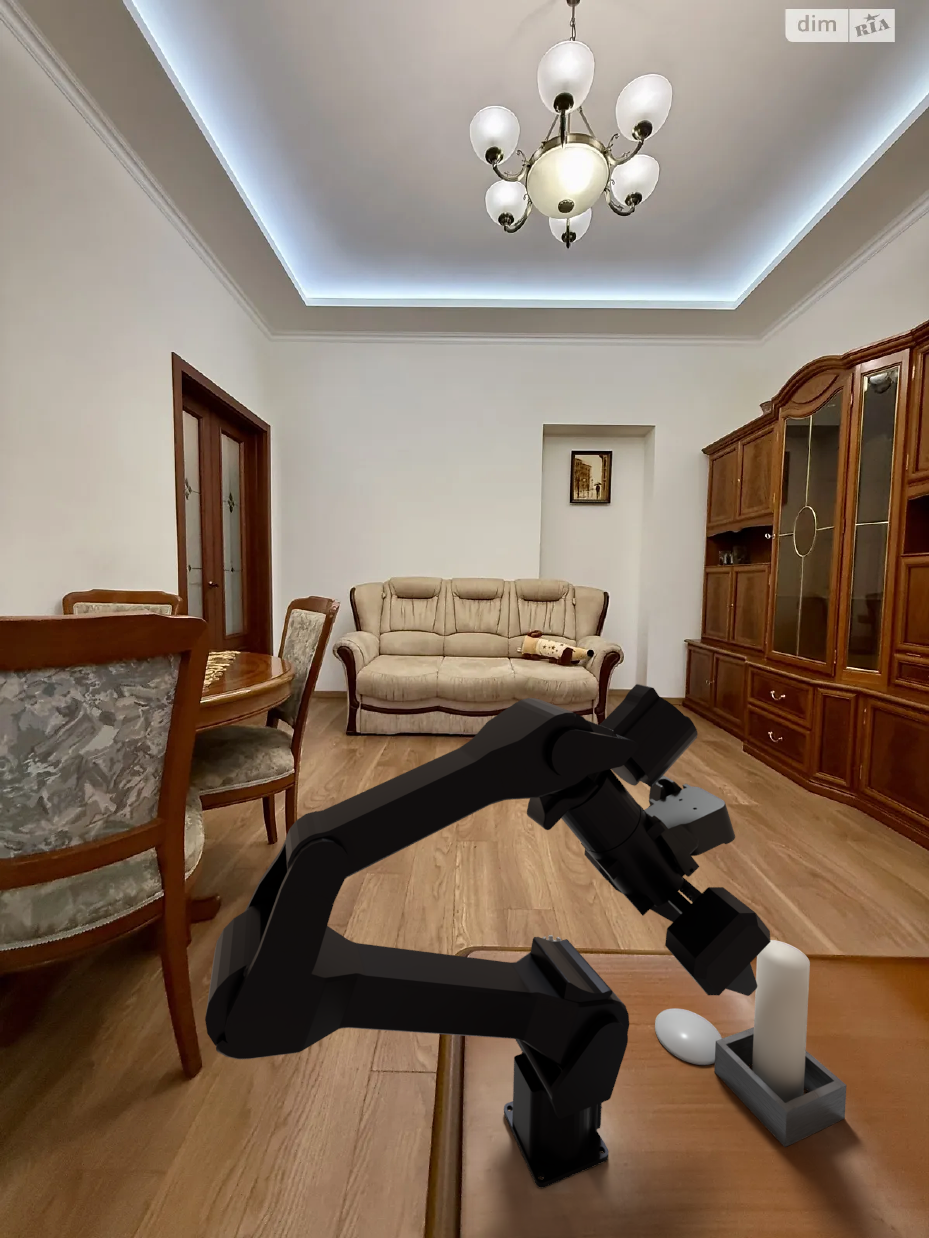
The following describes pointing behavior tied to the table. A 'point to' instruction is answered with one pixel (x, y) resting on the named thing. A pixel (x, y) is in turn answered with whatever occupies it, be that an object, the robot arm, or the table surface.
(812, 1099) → the frame
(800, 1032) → the cream peg
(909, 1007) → the table surface
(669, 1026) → the white oval disc
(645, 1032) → the table surface
